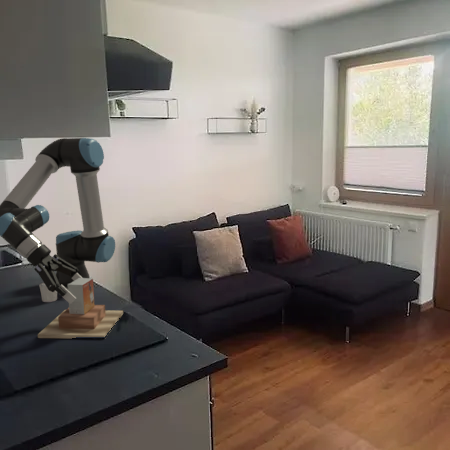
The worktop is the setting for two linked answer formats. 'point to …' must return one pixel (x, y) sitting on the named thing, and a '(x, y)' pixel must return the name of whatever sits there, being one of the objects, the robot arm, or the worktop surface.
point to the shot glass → (47, 293)
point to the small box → (81, 296)
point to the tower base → (82, 332)
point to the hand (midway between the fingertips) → (80, 294)
